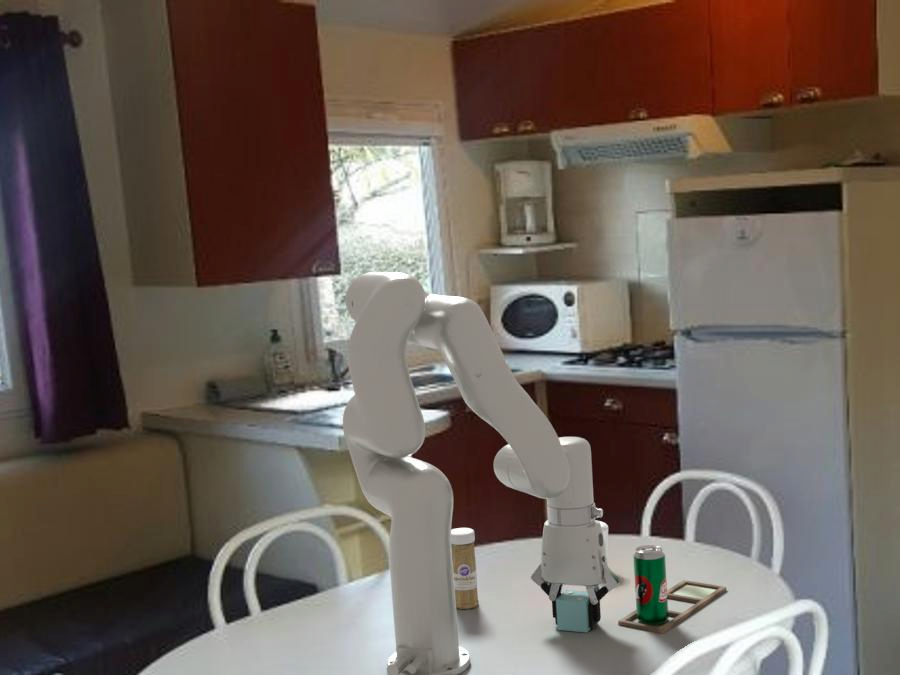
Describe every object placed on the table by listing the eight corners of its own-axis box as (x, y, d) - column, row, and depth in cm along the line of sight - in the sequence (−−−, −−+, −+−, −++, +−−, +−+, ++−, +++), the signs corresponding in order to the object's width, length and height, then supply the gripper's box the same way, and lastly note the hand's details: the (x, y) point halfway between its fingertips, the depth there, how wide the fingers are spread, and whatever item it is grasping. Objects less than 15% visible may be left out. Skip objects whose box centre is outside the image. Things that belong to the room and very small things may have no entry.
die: (587, 632, 178) (585, 601, 178) (557, 629, 180) (555, 599, 180) (596, 621, 183) (594, 591, 182) (567, 619, 185) (565, 589, 184)
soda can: (668, 626, 179) (664, 553, 177) (636, 626, 180) (632, 554, 179) (668, 615, 184) (664, 544, 182) (637, 615, 185) (633, 544, 183)
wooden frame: (663, 633, 176) (662, 629, 176) (618, 624, 181) (618, 621, 181) (726, 590, 193) (726, 587, 193) (683, 583, 198) (683, 580, 198)
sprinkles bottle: (457, 611, 193) (452, 535, 191) (450, 603, 197) (444, 529, 196) (482, 607, 194) (477, 531, 192) (474, 599, 198) (469, 525, 197)
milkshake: (583, 574, 207) (580, 522, 206) (588, 565, 212) (585, 514, 211) (607, 575, 206) (604, 522, 205) (612, 566, 211) (609, 514, 210)
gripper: (628, 510, 180) (634, 620, 182) (529, 506, 187) (535, 611, 189) (615, 523, 173) (621, 637, 175) (513, 518, 180) (519, 627, 182)
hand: (576, 622), depth 182 cm, fingers closed on die, 4 cm apart
